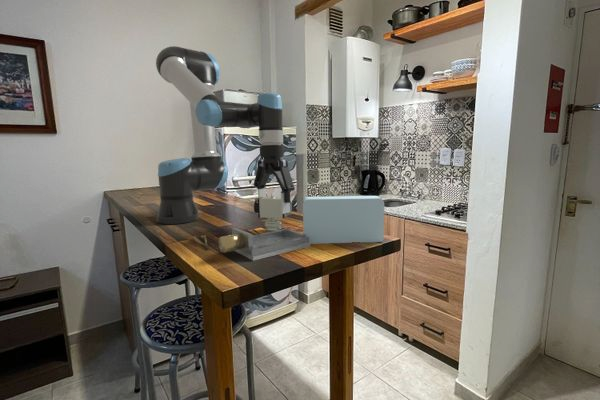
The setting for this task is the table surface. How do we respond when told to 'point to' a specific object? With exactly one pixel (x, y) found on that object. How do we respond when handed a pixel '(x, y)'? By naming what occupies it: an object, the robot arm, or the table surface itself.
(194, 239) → the tongs
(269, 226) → the pneumatic valve
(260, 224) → the table surface
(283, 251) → the cradle
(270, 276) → the table surface
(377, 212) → the pale blue rectangular block
